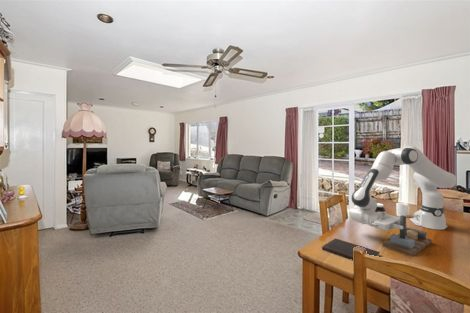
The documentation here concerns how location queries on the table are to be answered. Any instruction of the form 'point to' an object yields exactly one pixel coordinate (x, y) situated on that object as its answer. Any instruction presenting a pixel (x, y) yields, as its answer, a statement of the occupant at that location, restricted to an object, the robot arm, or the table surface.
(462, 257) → the table surface
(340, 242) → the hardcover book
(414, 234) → the nut
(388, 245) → the press board
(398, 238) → the jaw carriage
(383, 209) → the spread jar
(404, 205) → the white cup
